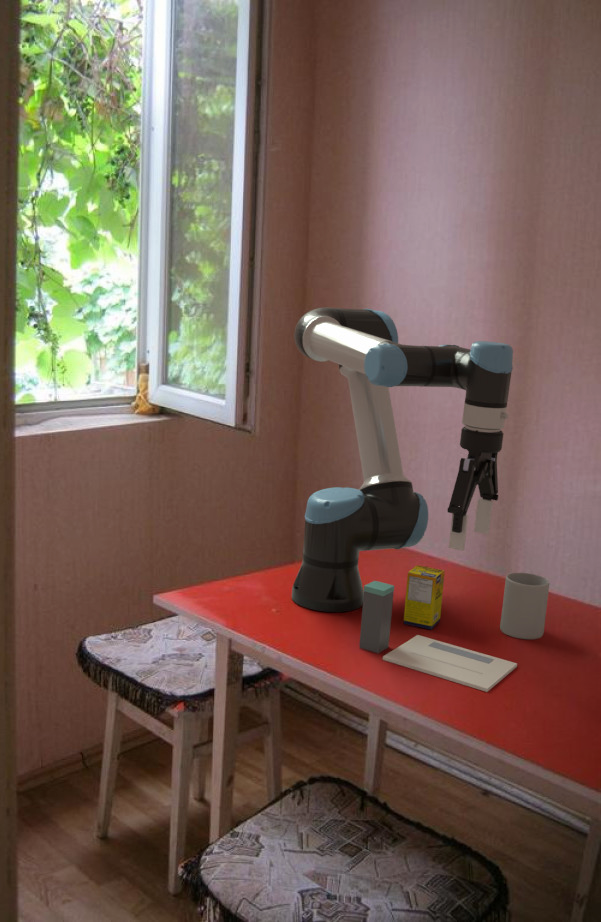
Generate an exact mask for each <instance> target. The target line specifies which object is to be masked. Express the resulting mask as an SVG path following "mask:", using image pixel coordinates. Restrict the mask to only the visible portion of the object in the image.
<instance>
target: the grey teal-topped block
mask: <svg viewBox="0 0 601 922" xmlns="http://www.w3.org/2000/svg"><path fill="white" fill-rule="evenodd" d="M363 590H364V597H363V605H362V608H361V609H362V611H361V622H360V635H359V644H358V645H359V647H360V648H359V649H361V650H365V651H368V652H372V653H375V654H380V653H382V652H383V651H385V650H387V649H388V648H389V645H390V636H391V635H390V634H391V622H392V615H393V614H392V613H393V604H394V603H393V602H394V601H393V600H394V591H395V585H393V584H390V583H385V582H382V581H377V580H372V581H371V582H369V583H367V584H364V586H363Z"/></svg>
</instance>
